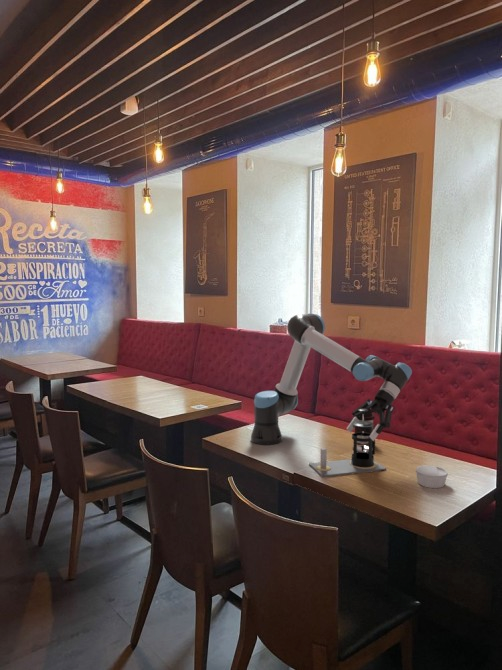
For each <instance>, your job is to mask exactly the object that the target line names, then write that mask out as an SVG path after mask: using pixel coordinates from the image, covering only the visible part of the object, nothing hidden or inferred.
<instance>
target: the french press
mask: <svg viewBox="0 0 502 670" xmlns="http://www.w3.org/2000/svg"><path fill="white" fill-rule="evenodd" d="M358 411H361V412H362V414H363V421H356V422H353V423H352V425H353V428H354V427H358V428H359V429H361V430H362V431H364V432H369V431H372V430H374V426H375V423H374V422H373V423H371V422H367V421H364V412H367V411H368V410H367V409H358ZM354 429H355V428H354ZM364 432H358V433H355V432H354V433H352V434H351V439H352V440H353V446H352V450H353V453H351V459H352V461H351V464H352V465H354V466H357V467H364V468H365V467H372V466H373V465H374V461H375V459H374V458H375V456H374V455H375V454H376V439H375V440H374V441H372V439H371V438H370V437H369V438H367V439H363V436H370V435H371V433H364ZM359 435H362V438H357V436H359ZM357 441H360V442H362V444H360V445H358V443H357ZM363 442H369V444H368V445H364V444H363Z"/></svg>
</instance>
